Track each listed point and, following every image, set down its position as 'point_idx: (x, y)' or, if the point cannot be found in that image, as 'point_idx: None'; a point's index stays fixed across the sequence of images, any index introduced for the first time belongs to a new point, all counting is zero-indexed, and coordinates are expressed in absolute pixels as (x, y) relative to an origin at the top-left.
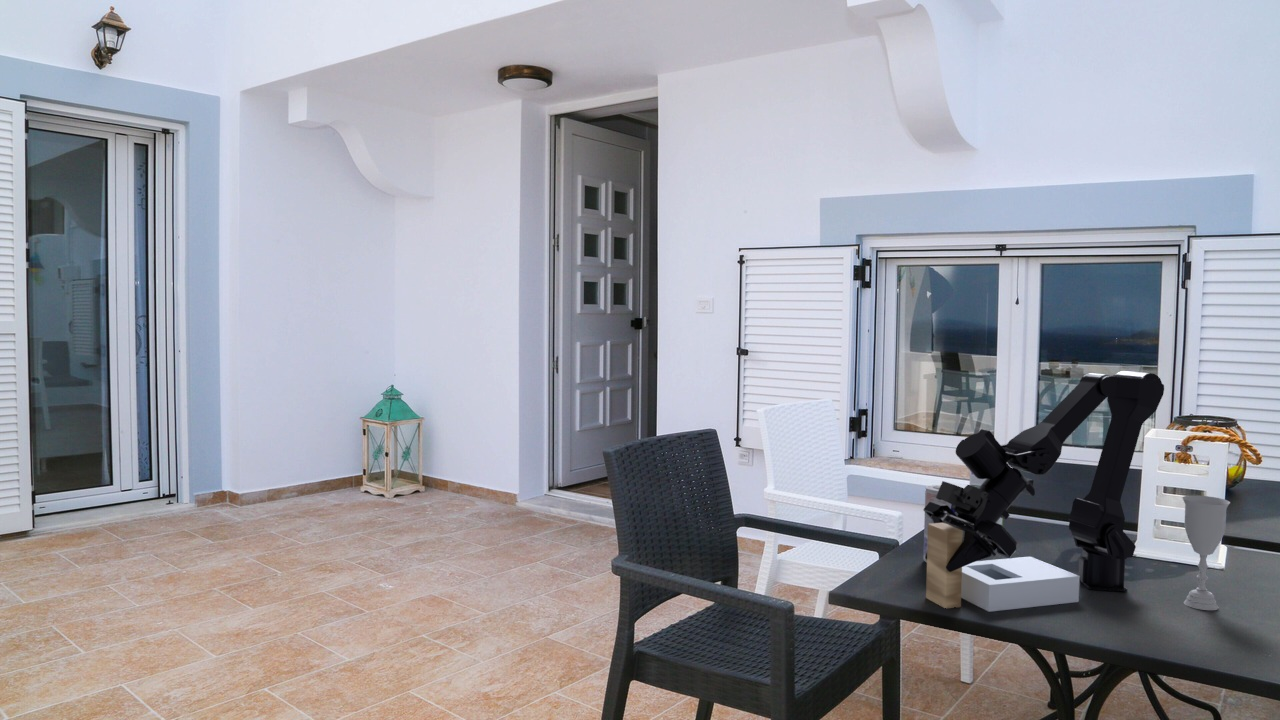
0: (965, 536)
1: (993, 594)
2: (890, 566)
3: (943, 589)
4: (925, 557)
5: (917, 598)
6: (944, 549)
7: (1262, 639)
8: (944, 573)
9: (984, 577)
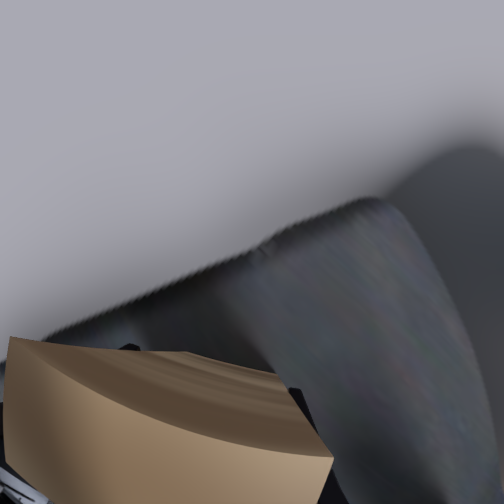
0: (2, 427)
1: None
2: (477, 435)
3: (183, 355)
4: (296, 388)
5: (286, 350)
6: (116, 358)
7: None
8: (159, 354)
9: None
